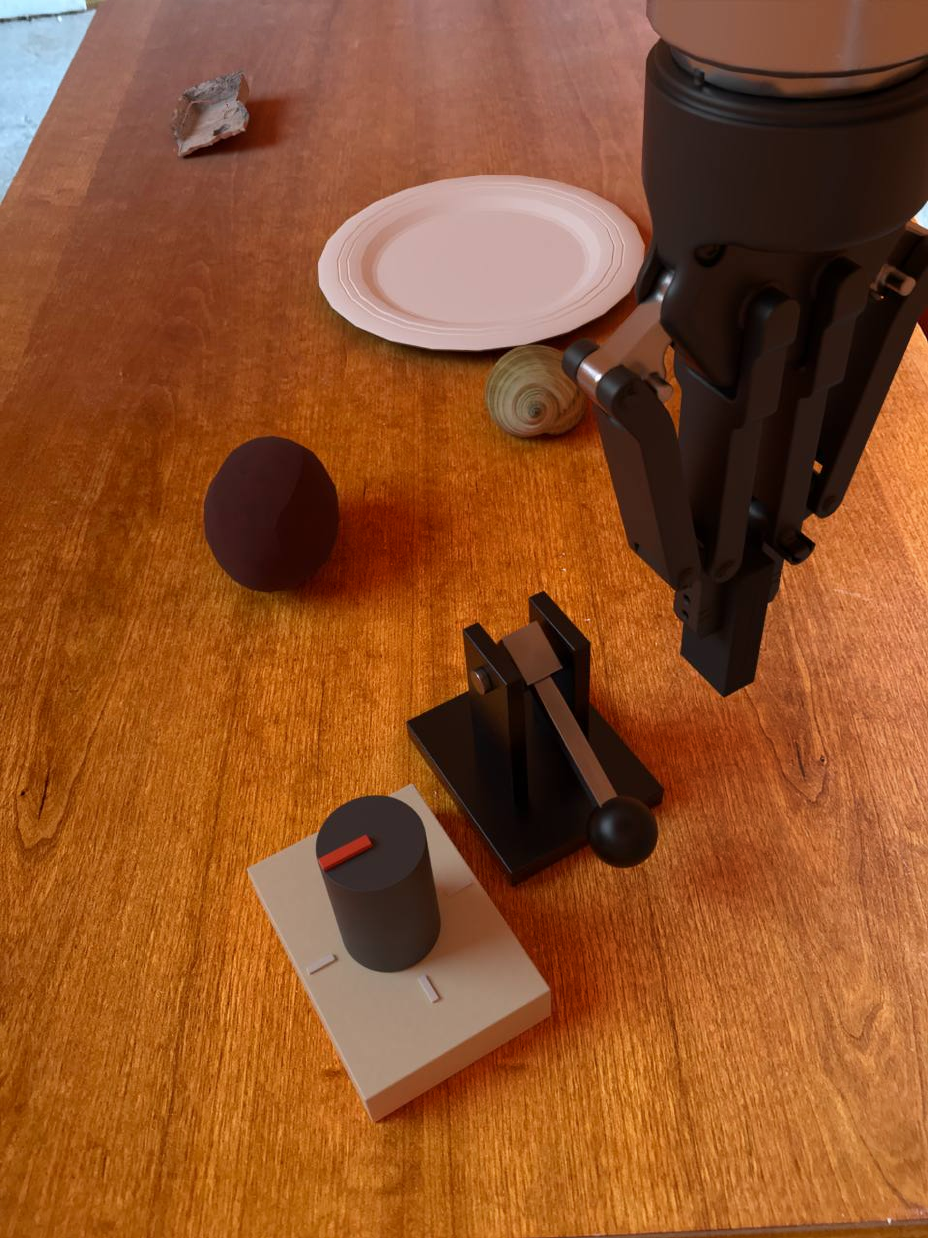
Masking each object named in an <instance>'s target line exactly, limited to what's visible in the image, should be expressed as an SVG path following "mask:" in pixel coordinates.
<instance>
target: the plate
mask: <svg viewBox="0 0 928 1238" xmlns="http://www.w3.org/2000/svg"><path fill="white" fill-rule="evenodd" d="M645 249H646V244H645V243H644V240H643V237H642V236H641V234H640V231H639V227H638V226H637V224H636V223H635V222H634V221H633V220H632V219H631V217H629V216H628V215H627V214H626V213H625V212H624V211H623V210H622V209H621V208H620V207H619V206H618V205H616V204H615V203H613V202H611V201H609V200H607V199H605V198H604V197H601V196H600V195H598V194H596V193H594V192H593V191H591V190H588V189H585V188H581V187H579V186H575V185H572V184H569V183H565V182H562V181H559V180H555V179H549V178H541V177H534V176H526V175H521V174H516V175H515V174H477V175H470V176H462V177H461V176H460V177H453V178H445V179H440V180H436V181H432V182H427V183H425V184H420V185H417V186H412V187H409V188H405V189H403V190H400V191H398V192H395V193H393V194H391V195H388V196H387V197H384V198H382V199H378V200H377V201H374V202H373V203H371V204H370V205H368V206H366V207H365V208H364V209H362V210H360V211H359V212H357V213H356V214H354V215H352V216H351V217H350V218H348V219H346V220H345V221H344V222H343V224H341V226H340V227H339V228H338V229H337V230H336V231H335V232H334V233H333V234H332V235H331V236H330V237H329V238H328V239H327V242H326V243H325V245H324V248H323V250H322V252H321V255H320V257H319V259H318V262H317V270H318V271H317V273H318V286H319V289H320V291H321V292H322V294H323V296H324V298H325V299H326V301H327V303H328V304H329V307H330V308H331V310H333V311H334V312H335V313H337V314H338V315H339V316H340V317H341V318H343V319H344V320H346V322H347V323H349V324H350V325H352V326H353V327H354V328H355V329H358V330H360V331H363V332H365V333H367V334H369V335H372V336H374V337H376V338H379V339H381V340H384V341H386V342H388V343H391V344H396V345H400V346H407V347H411V348H417V349H423V350H428V351H433V352H434V351H435V352H438V351H439V352H463V353H465V352H467V353H481V352H490V351H491V352H492V351H499V350H506V349H514V348H516V347H519V346H523V345H536V344H538V343H542V342H545V341H548V340H552V339H555V338H559V337H562V336H565V335H569V334H571V333H572V332H575V331H576V330H579V329H581V328H582V327H584V326H586V325H589V324H590V323H592V322H594V321H597V320H598V319H601V318H602V317H604V316H605V315H606V314H608V313H609V312H610V311H611V310H612V309H614V307H616V306H617V305H618V304H619V303H620V302H622V301H623V300H624V299H625V298H627V297H628V296H629V295H630V293H631V292H632V290H633V288H635V283H636V278H637V275H638V272H639V270H640V268H641V266H642V264H643V261H644V259H645Z"/></svg>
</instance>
